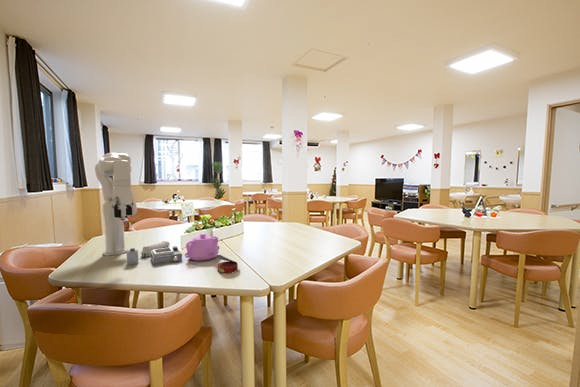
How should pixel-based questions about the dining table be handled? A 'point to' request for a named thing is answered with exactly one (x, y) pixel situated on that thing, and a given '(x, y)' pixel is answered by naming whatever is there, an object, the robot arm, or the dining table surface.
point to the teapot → (202, 248)
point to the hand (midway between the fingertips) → (123, 216)
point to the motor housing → (166, 255)
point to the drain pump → (132, 257)
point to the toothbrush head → (148, 249)
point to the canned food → (226, 265)
